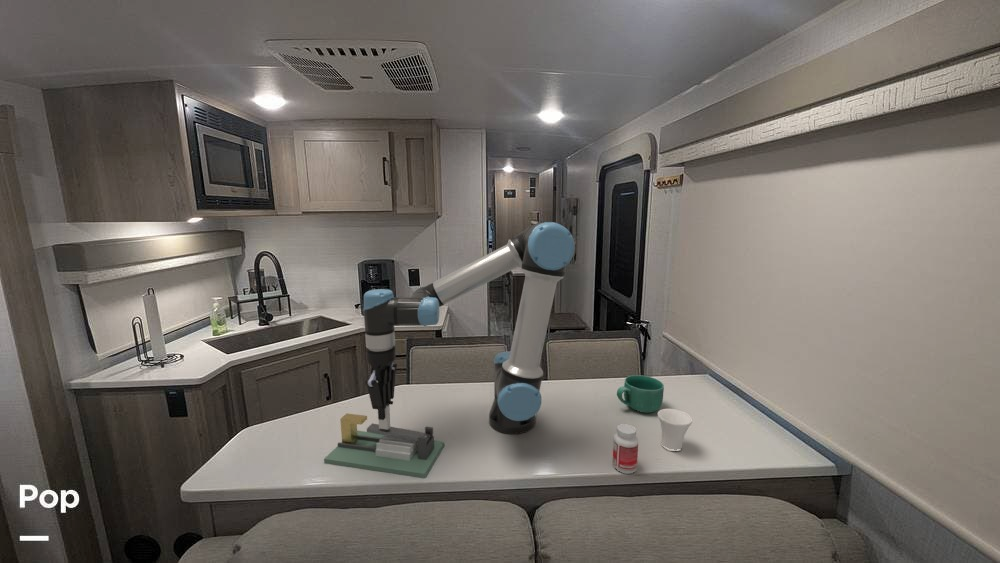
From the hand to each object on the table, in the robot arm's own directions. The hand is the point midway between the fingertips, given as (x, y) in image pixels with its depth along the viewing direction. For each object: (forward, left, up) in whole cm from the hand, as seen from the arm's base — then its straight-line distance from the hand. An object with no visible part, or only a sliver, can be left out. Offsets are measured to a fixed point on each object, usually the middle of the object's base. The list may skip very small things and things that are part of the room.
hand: (384, 427), depth 103 cm
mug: (-73, -40, -8) cm, 84 cm away
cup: (-80, -19, -8) cm, 82 cm away
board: (-1, +1, -7) cm, 7 cm away
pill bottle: (-65, -7, -8) cm, 66 cm away
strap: (-4, 0, -2) cm, 5 cm away
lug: (+10, 0, -6) cm, 11 cm away
